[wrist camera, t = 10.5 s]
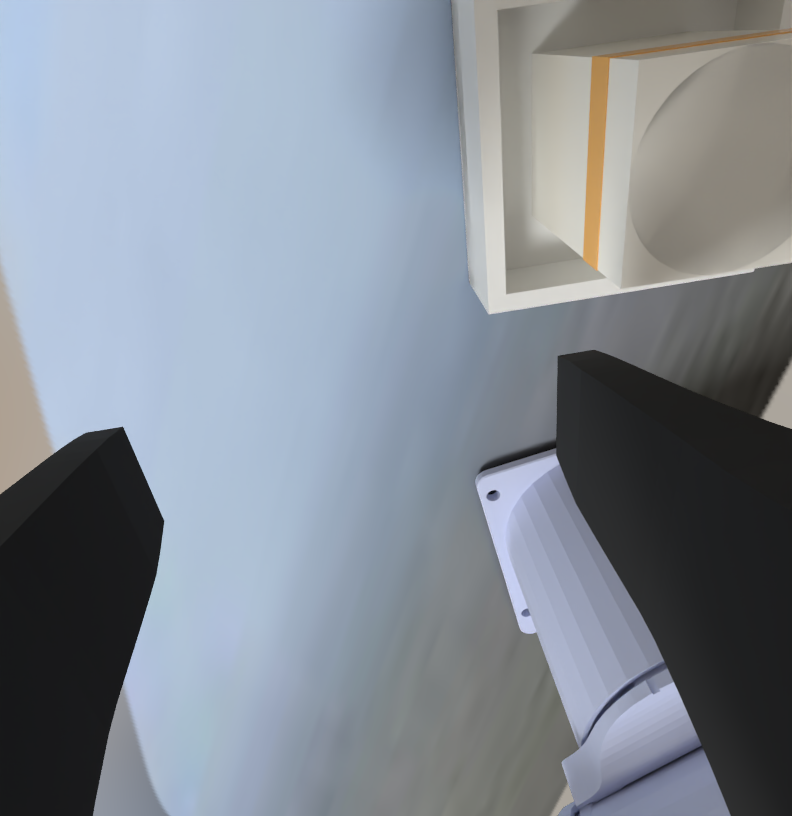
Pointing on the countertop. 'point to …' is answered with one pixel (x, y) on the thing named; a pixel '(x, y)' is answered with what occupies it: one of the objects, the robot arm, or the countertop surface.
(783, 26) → the tray
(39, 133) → the countertop surface
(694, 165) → the block
